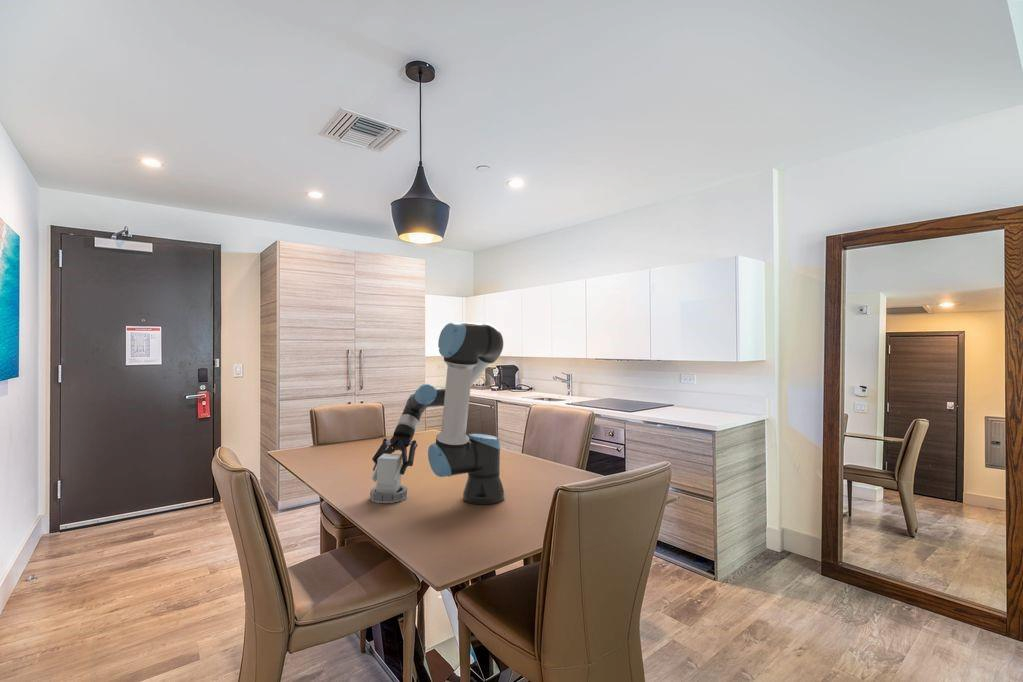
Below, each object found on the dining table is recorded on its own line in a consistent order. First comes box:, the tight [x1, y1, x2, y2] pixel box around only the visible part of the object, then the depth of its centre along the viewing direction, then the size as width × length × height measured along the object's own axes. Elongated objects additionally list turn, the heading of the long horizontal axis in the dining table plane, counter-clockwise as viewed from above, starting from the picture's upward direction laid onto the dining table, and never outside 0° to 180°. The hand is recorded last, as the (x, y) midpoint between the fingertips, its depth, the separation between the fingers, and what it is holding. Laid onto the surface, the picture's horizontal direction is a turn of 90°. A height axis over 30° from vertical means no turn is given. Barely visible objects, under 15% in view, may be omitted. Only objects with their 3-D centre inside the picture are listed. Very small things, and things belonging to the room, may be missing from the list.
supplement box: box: [375, 453, 403, 494], centre depth 176 cm, size 7×7×13 cm
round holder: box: [369, 484, 408, 504], centre depth 176 cm, size 13×13×3 cm
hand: (384, 480), depth 172 cm, fingers closed on supplement box, 8 cm apart
